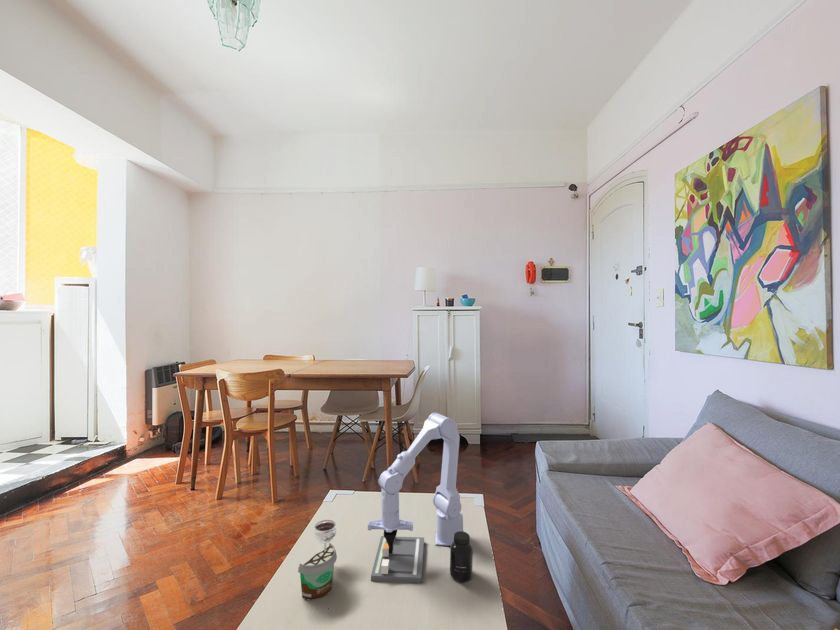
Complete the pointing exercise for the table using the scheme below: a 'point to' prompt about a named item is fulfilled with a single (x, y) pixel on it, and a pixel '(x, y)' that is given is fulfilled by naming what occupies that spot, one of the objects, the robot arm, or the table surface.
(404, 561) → the panel
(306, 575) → the food container
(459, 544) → the supplement bottle
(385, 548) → the block
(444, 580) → the table surface
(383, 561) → the block
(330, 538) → the wineglass
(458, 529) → the robot arm
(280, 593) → the table surface
